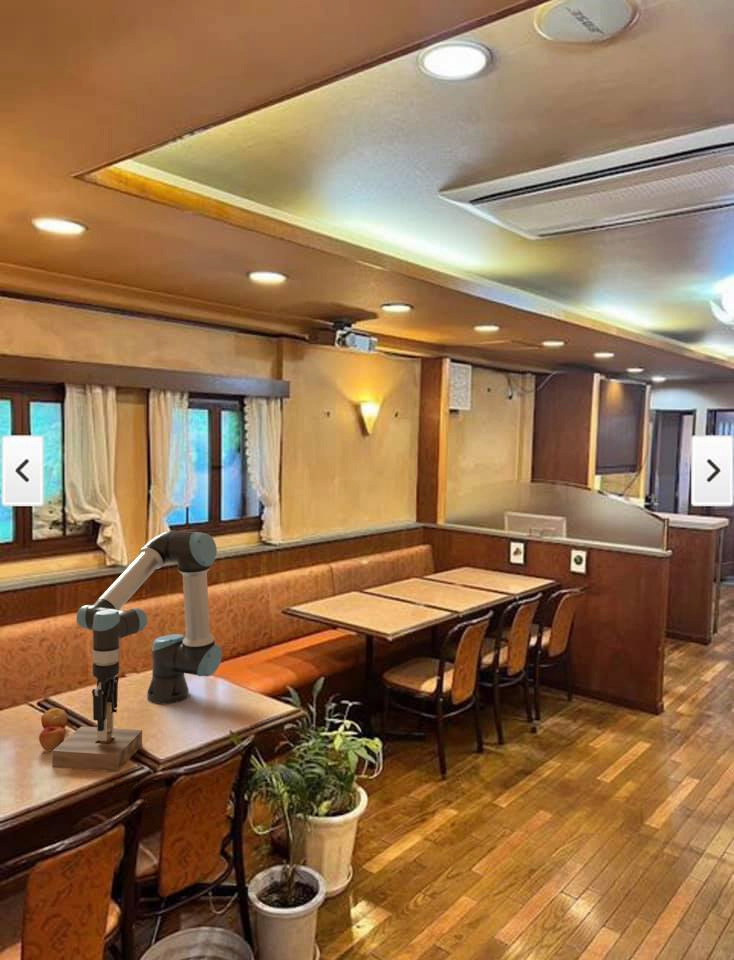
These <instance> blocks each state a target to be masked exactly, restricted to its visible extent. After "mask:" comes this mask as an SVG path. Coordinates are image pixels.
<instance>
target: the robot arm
mask: <svg viewBox="0 0 734 960" xmlns="http://www.w3.org/2000/svg"><path fill="white" fill-rule="evenodd" d="M217 550H218V549H217V545H216V541H215V539H214V538H213V537H212V536H211V535H210V534H209V533H204V532H200V531H188V530H187V531H186V530H178V529H177V530H176V529H175V530H174V529H172V530H167V531H165V532H162V533H160V534H157V535H156V536H154V538H152V539H150V540H149V541H148V542H147V543H146V544H145V545H144V546H142V548H141V549H139V552H138V556H137V557H136V558H135V559H134V560H133V561H132V562H131V563H130V564H129V566H128V567H127V568H126V569H125V570H124V571H123V572H122V573H121V574H120V576H119V577H117V578H116V580H115V581H114V582H113V583H112V584H110V586H109V587H108V588H107V589H106V590H105V591H104V592H103V593H102V595H101V596H100V597H99V598H98V599H97V600H96V601H95V602H94V603H93V604H86V605H85V604H84V605H83V606H81V607H80V608H79V609H78V611H77V613H76V623H77V625H78V627H80V628H82V629H85V630H89V631H92V642H93V643H92V645H93V646H92V651H91V654H92V662H93V664H92V676H93V677H94V678H96V679H97V682H96V688H93V689H92V691H91V694H92V708H93V709H92V712H93V713H92V715H93V719H92V720H93V721H97V722H96V723H97V725H96V727H97V740H99V741H106V740H107V719H105V718H106V708H107V702H111V703H112V718H111V730H112V732H111V735H113V728H114V724H115V723H114V720H115V719H114V717H115V716H114V713H117V712H118V709H117V708H118V696H119V695H118V692H119V690H118V689H119V687H118V686H119V678H120V677H119V673H120V661H119V660H120V639H122V638H123V639H124V638H125V637H127V636H128V637H129V636H131V635H133V634H137V633H139V632H141V631H143V630H144V629H145V628H146V627H147V624H148V623H147V622H148V617H147V614H146V612H145V611H144V610H143V609H140V608H138V607H137V608H136V607H135V608H131V609H128V610H125V609H122V607H124V605H126V603H127V602H128V601H129V600H130V598H131V597H132V596H133V595H134V594H135V593H136V592H137V591H138V590H139V589H140V587H141V586H142V585H143V584H144V582H146V581H147V580H148V578H149V577H150V576H151V575H152V574H153V573H154V572H155V570H158V569H161V568H162V567H163V566H164V565H165V564H167V563H176V564H177V571H178V572H179V573H180V574H181V575H182V587H183V603H184V604H183V605H184V606H183V607H184V620H185V635H186V636H185V635H184V634H182V633H181V634H179V633H177V634H176V633H174V634H167V635H163V636H162V635H161V636H159V637H157V638H156V639H154V641H152V642H153V643H152V650H151V651H152V660H151V661H152V663H151V664H152V665H151V666H152V667H151V668H152V676H151V680H150V683H149V686H148V689H147V691H146V694H147V695H146V699H147V700H148V701H149V702H151V703H155V704H162V705H165V704H174V703H180V702H181V701H184V700H186V699H188V698H189V696H190V695H189V694H190V693H189V692H190V691H189V690H190V689H189V687H188V683H187V680H186V677H185V674H188V675H193V676H198V677H210V676H213V675H214V674H215V673H216V672H217V670H218V668H219V667H220V665H221V662H222V657H223V650H222V648H221V646H219V645H218V644H216V642H215V641H216V640H215V636H214V635H213V634H212V633H211V627H210V625H211V624H210V623H211V622H210V610H209V609H210V607H209V592H208V588H209V586H208V572H209V570H211V568H212V565H213V564H214V562H215V561H216V557H217V554H218V553H217V552H218V551H217Z"/></svg>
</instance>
